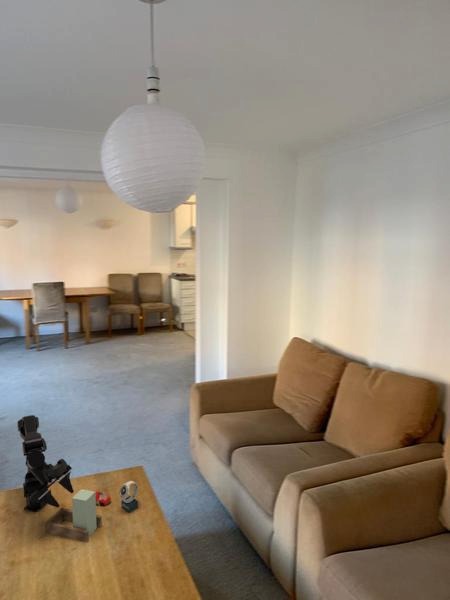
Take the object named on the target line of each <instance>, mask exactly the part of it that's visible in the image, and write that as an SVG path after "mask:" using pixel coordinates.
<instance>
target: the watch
mask: <svg viewBox="0 0 450 600" xmlns="http://www.w3.org/2000/svg"><path fill="white" fill-rule="evenodd" d="M131 485H134V487H133V490H132V493H131V495H130V491H131V490H130V489H131ZM118 493H119V497H120V499H121V501H120V503H121V509H123V510H125V511H126V512H128V513H132V512H134V511H135V510H138V509H139V501H138V500H137V499H136V497H137V495H138V493H139V485H138V483H137V482H135V481H133V480H129V481H126V482H125V483H124V484H122V485H121V486H120V488H119V491H118Z"/></svg>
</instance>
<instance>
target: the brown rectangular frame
mask: <svg viewBox="0 0 450 600" xmlns="http://www.w3.org/2000/svg"><path fill="white" fill-rule="evenodd" d="M102 520H103V519H102V515H99V514H96V523H97V528H101V527H102V526H103V522H102ZM62 521H69V522H72V523H73V510H72V509H68V508H64V507H61V508H60V509H59V510H58V511H57V512H55V513H54V515H52V516H51V517H50V518H49V519H48V520H47V521H46V522H44V533H45V534H47V535H52V536H56V537H60V538H65V539H69V540H73V541H79V542H83V543H88V542H89V541H90V538H89V537H90V536H89V530H85V529H80V528H75V527H73V526H71V525H65V524H60V523H61V522H62Z"/></svg>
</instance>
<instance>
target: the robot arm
mask: <svg viewBox="0 0 450 600" xmlns="http://www.w3.org/2000/svg"><path fill="white" fill-rule="evenodd" d="M16 425H17V432H19V436H20V438H22V440H23V442H22V444H21V446H22V453H23V457H25V466H26V468H27V472H26V473H25V476H24V482H23V483H22V493H23V498H24V499H25V502H26V504H25V506H24V507H23V510H25V511H30V512H34V513H35V512H36V513H38V512H39V511H40V510H41V509H42V508H44V506H45V505H46V504H47V505H49V506H51V507H55V508H59V507H60V504H59V502H58V501H57V499H56V498H55V497H54V496H53V495H52V489H49V488H50V487H51V486H53V485H54V484H55V483H56V482H57V481H58V482H57V483H58V484H59V485H60V486H61V487H63V488H64V489H65V490H66V491H67V492H69V493H70V494H73V493H75V490H74V489H73V485H72V481H71V479H70V476H71V473H72V469H73V468H72V467H71V465H70V464H67V461H66V460H65V459H64V458H60V459H59V460H57V462H56V464H55V465H53V464H52V463H47V462H46V461H45V460H46V456H45V454H44V453H45V452H46V451H47V450H48V448H47V447H48V446H47V441H46V440H45V438H44V437H42V434H41V432H38V428H39V427H40V421H39V417H37V416H36V415H34V414H32V415H26V416H22V418H21V419H19V420H17V424H16Z"/></svg>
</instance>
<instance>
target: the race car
mask: <svg viewBox="0 0 450 600" xmlns="http://www.w3.org/2000/svg"><path fill="white" fill-rule="evenodd" d="M93 491H94V492H95V496H96V506H100V507H104V506H107V505H109V504H110V503H111V500H112V499H111V496H110V495H108V494H105V493H103V492H100V491H97V490H93Z"/></svg>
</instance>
